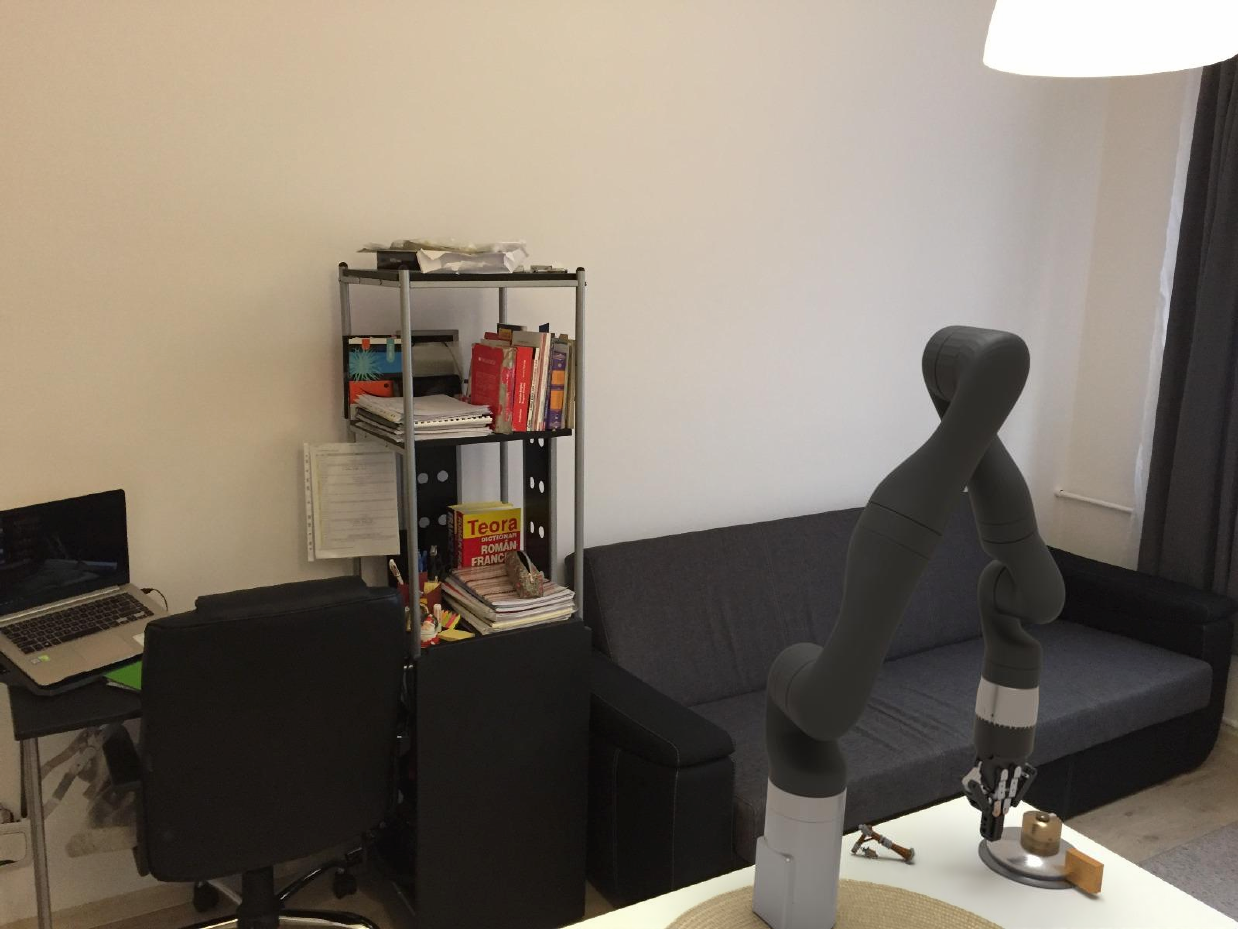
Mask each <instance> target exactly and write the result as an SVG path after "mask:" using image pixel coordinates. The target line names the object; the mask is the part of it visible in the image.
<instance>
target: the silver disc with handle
mask: <svg viewBox="0 0 1238 929" xmlns="http://www.w3.org/2000/svg"><path fill="white" fill-rule="evenodd" d="M1021 828H1022V826H1003V832H1002V835H1001V839H1000V840H998V841H994V842H990V841H988V840H987V846H986V848H987V852H988V854H989V855H990V856H991V857H992V858H993V859H994V860H995V861H996V862H997V863H999V864H1000V865H1002V866H1003V867H1005V868H1007V869H1009V870H1011V871H1014V872H1016V873H1019V874H1022V875H1025V876H1028V877H1033V878H1037V879H1044V880H1063V879H1067V880H1069V881H1070V882H1072V883H1074V884H1075V885H1077V887H1079V888H1081V889H1083V890H1084V891H1086V892H1088V893H1089V894H1091V895H1096V894H1101V892H1102V884H1103V877H1104V868H1105V864H1103V863H1102V862H1101V861H1098V860H1096V859H1095V858H1093V857H1091V856H1090V855H1087V854H1086V853H1084V852H1082V851H1080V850H1079V849H1077V848H1076V847H1075V846H1074V845H1073V844H1072V843H1070V842H1068V841H1067V840H1065V839H1064V838H1062V837H1061V840H1060V849H1059V853H1058V854H1057V855H1054V856H1042V855H1037V854H1034V853H1031V852H1029V851H1027V850H1025V849H1024V848H1023V847H1022V846H1021V845H1020V838H1021Z"/></svg>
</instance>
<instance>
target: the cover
mask: <svg viewBox="0 0 1238 929" xmlns="http://www.w3.org/2000/svg"><path fill="white" fill-rule="evenodd" d="M1021 827H1022V828H1021V838H1020V845H1021V846H1022V847H1023V848H1024V849H1025V850H1027V851H1029V852H1031V853H1034V854H1037V855H1042V856H1054V855H1057V854H1058V853H1059V849H1060V840H1061V838H1062V829H1063V821H1062V820H1061V819H1060V818H1059V817H1058V816H1057V814H1055V813H1053V812H1051V813H1049V812H1046V811H1042V810H1035V809H1034V810H1033V809H1032V810H1027V811H1025V812H1023V813H1022V822H1021Z"/></svg>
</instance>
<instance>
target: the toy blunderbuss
mask: <svg viewBox="0 0 1238 929" xmlns="http://www.w3.org/2000/svg"><path fill="white" fill-rule="evenodd" d="M858 829H859V830H860V832H861V834H860V837H859V838H858V839H857V841H856V842H854V844H853V847H852V848H851V853H852V854H854V855H856V853H857V852H858V851H859V850H860V851H862V853H863V852H864V856H865V857H867V856H868V857H869V858H870V859H878V858H879V854H877V852H876V850H874V849H871V848H870V846H867V847H865V846H862V845H863V844H864V843H867V842H871V841H873V840H874V841H876V842H877V844H879V845H881V846H882V847H885V848H886V849H887V850H891V851H892V852H894V853H896V854H897V855H898V856H900V857H902V858H903V859H904V860H905V863H906V864H907V865H910V864H911V862H912V861H913V859H914V857H915V856H916V851H915V849H914V847H910V848H905V847H903V846H902V845H899V844H896V843H894V842H893V840H891V839H888V838H887V837H886V836H883V834H879V833H877V832H876V831H874V829H873V826H872V825H871V824H868V825H866V824H865V823H864V824H859V825H858ZM867 837H868V838H867Z"/></svg>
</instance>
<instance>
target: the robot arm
mask: <svg viewBox="0 0 1238 929" xmlns="http://www.w3.org/2000/svg"><path fill="white" fill-rule="evenodd" d="M1029 350H1030V349H1029V347H1028V345H1027V344H1026V341H1025V340H1024V338H1022V337H1021V336H1019V335H1018V334H1015V333H1013V332H1009V331H1006V330H1000V329H999V330H998V329H994V328H993V329H991V328H983V327H977V326H967V325H949V326H945V327H943V328H940V329H939V330H937V331H935V333H934V334H933V335H931V337H930V338H929V340H928V341H927V343H926V345H925V347H924V349H923V352H922V357H921V372H922V373H921V374H922V377H923V382H924V384H925V387H926V389H927V392H928V395H929V398H930V399H931V402H932V404H933V406H934V408H935V411H936V413H937V414H938V417H939V419H940V422H939V424H938V426H937V427H936V429H935V430H934V431H933V433H932V434H931V435H930V437H929V438H928V439H927V440H926V441H925V442H924V443H923V444H922V445H921V446H920V447H919V448H917V449H916V450H915V452H913V453H912V454H911V455H909V456H908V457H907V458H906V459H904V460H903V461H902V462H901V463H900V464H899V465H897V466H896V467H895V468H894V469H893V470H892V471H891V472H889V473H888V474H887V475H886V476H885V477H884V478H883V479H882V480H881V481H880V482H879V484H878V485H877V486H876V488H875V489H874V490H873V491H872V493H871V495H870V497H869V499H868V501H867V503H866V505H865V507H864V509H863V511H862V513H861V515H860V517H859V519H858V521H857V523H856V525H855V526H854V527H855V528H854V530H853V531H852V534H851V537H850V540H849V543H848V549H847V555H846V561H845V562H846V563H845V574H844V585H843V587H844V588H843V596H842V597H843V598H842V602H841V607H840V610H839V614H838V617H837V620H836V621H835V624H834V627H833V628H832V631H831V633H830V634H829V637H828V639H827V641H826V643H825V645H824V646H821V645H818V644H816V643H815V644H814V643H811V642H800V643H799V642H798V643H795V644H792V645H790V646H788V647H787V648H784V650H782V651H781V652H780V653H779V654H778V656H777V657H776V658H775V660H774V662H773V663H772V665H771V667H770V670H769V672H768V677H767V682H766V689H765V691H766V692H765V706H764V708H765V709H764V710H765V712H764V717H765V718H764V747H765V748H764V749H765V754H766V757H767V761H768V780H767V781H768V782H767V790H766V792H767V795H766V804H765V806H766V807H765V819H764V820H765V821H764V834H763V835H762V836H759V837H758V838H757V839H756V850H755V864H754V878H753V880H754V881H753V890H752V892H753V893H752V894H753V895H752V904H751V905H752V908H751V909H752V911H753V912H754V913H755V914H757V915H758V916H759V917H760V918H761V919H762V920H763V921H764V922H766V923H767V924H768V925H769V926H770V927H771V928H772V929H832V928H833V927H834V926H835V924H836V918H837V917H836V916H837V906H838V897H839V896H838V895H839V894H838V893H839V883H840V882H839V880H840V869H841V857H842V845H843V836H844V835H843V833H844V824H845V811H846V810H845V809H846V801H847V800H846V798H847V786H848V776H849V775H848V774H849V773H848V772H849V768H848V762H847V761H846V758H845V756H844V754H843V751H842V749H841V748H840V744H839V741H838V739H840V738H843V736H845V735H847V734H848V733H850V731H852V729H854V727H856V725H857V724H858V723H859V721H860V719H861V718H862V716H863V714H864V712H865V711H866V708H867V706H868V703H869V701H870V698H871V696H872V693H873V690H874V688H875V685H876V682H877V679H878V677H879V674H880V671H881V668H882V666H883V663H884V660H885V659H886V655H887V653H888V650H889V647H890V645H891V642H892V640H893V638H894V635H895V633H896V631H897V628H898V626H899V624H900V623H901V621H902V619H903V616H904V614H905V611H906V610H907V607H908V606H909V603H910V601H911V598H912V597H913V594H914V592H915V590H916V588H917V586H918V585H919V582H920V580H921V578H922V576H923V575H924V573H925V571H926V569H927V567H928V565H929V563H931V562H930V561H931V559H932V557H933V556H934V553H935V552H936V549H937V548H938V546H939V544H940V541H941V540H942V537H943V535H944V534H945V531H946V528H947V527H948V525H949V522H950V519H951V517H952V515H953V513H954V512H955V509H956V507H957V505H958V504H959V501H960V499H961V498H962V496H963V494H964V492H965V490H966V489H967V492H968V496H969V500H970V503H971V507H972V512H973V518H974V523H975V527H976V530H977V534H978V538H979V541H980V545H981V547H982V549H983V551H984V552H985V554H987V556H989V557H991V558H992V559H993V560H992V561H991V562H989V563H988V564H987V565H986V566H985V568H984V569H983V570H982V572H981V574H980V577H979V580H978V584H977V603H978V610H979V616H980V621H981V623H980V624H981V630H982V636H983V641H984V652H983V659H982V660H983V662H982V667H981V668H982V669H981V677H980V682H979V685H978V688H977V693H976V701H975V702H976V703H975V708H974V709H975V710H974V719H973V726H972V734H971V735H972V736H971V741H972V743H973V745H974V747H975V751H976V753H975V756H974V758H973V760H972V770H970V772H969V773H968V774H967V775H965V774H962V773H960V774H959V775H958V777H957V783H958V784H959V787H960V788H961V790H962V792H963V794H964V795H965V798H966V800H968V803H969V804H970V806H971V807H972V808H974V809H976V810H978V811H979V812H981V816H980V824H979V833H980V836H981V837H982V838H983V839H984V838H985V839H986V840H988V841H990V842H994V841H998V840H1000V839H1001V835H1002V832H1003V827H1005V825H1004V824H1005V817H1006V815H1007V814H1008V813H1009V811H1010V808H1014V809H1015V808H1017V807H1018V806H1019V805H1020V803H1021V801H1022V799H1023V798H1024V796H1025V795H1026V793H1027V791H1028V789H1029V788H1030V786H1031V784H1032V783H1033V782H1034V780H1035V778H1036V777H1037V775H1038V769H1037V768H1035V767H1034V766H1031V765H1030V764H1029V763H1027V762H1028V757H1029V756H1031V754H1032V753H1033V752H1034V744H1035V735H1036V727H1037V720H1038V712H1039V703H1040V702H1039V701H1040V700H1039V697H1040V694H1039V693H1040V692H1039V691H1040V690H1039V689H1040V682H1041V681H1040V679H1041V672H1042V663H1043V654H1044V652H1043V647H1042V644H1041V643H1040V642H1039V640H1037V639H1036V638H1034V637H1033V636H1031V635H1030V634H1029V633H1027V632H1026V631H1025V630H1024V629H1023V627H1022V626H1021V622H1020V621H1024V622H1027V623H1031V624H1034V625H1045V624H1049V623H1051V622H1053V621H1055V619H1057V618H1058V616H1060V614H1061V612H1062V610H1063V608H1064V606H1065V602H1066V586H1065V582H1064V579H1063V575H1062V574H1061V571H1060V569H1059V567H1058V564H1057V563H1056V561H1055V559H1054V557H1053V556H1052V553H1051V552H1050V550H1049V548H1048V546H1047V544H1046V542H1045V541H1044V540H1043V538H1042V536H1041V535H1040V532H1039V528H1038V527H1039V526H1038V522H1037V518H1036V513H1035V508H1034V504H1033V499H1032V494H1031V492H1030V488H1029V486H1028V482H1027V481H1026V479H1025V476H1024V475H1023V473H1022V472H1021V470H1020V468H1019V467H1018V465H1017V463H1016V462H1015V460H1014V459H1013V457H1012V455H1011V454H1010V453H1009V451H1008V449H1007V448H1006V446H1005V445H1004V443H1003V441H1002V440H1001V438H1000V436H999V435H998V432H999V431H1000V429H1001V428H1002V426H1003V425H1004V423H1005V421H1006V420H1007V419H1008V417H1009V416H1010V414H1011V412H1012V411H1013V409H1014V407H1015V406H1016V404H1017V402H1018V400H1019V398H1020V397H1021V395H1022V393H1023V391H1024V388H1025V386H1026V383H1027V380H1028V378H1029V374H1030V368H1031V354H1030V351H1029Z"/></svg>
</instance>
